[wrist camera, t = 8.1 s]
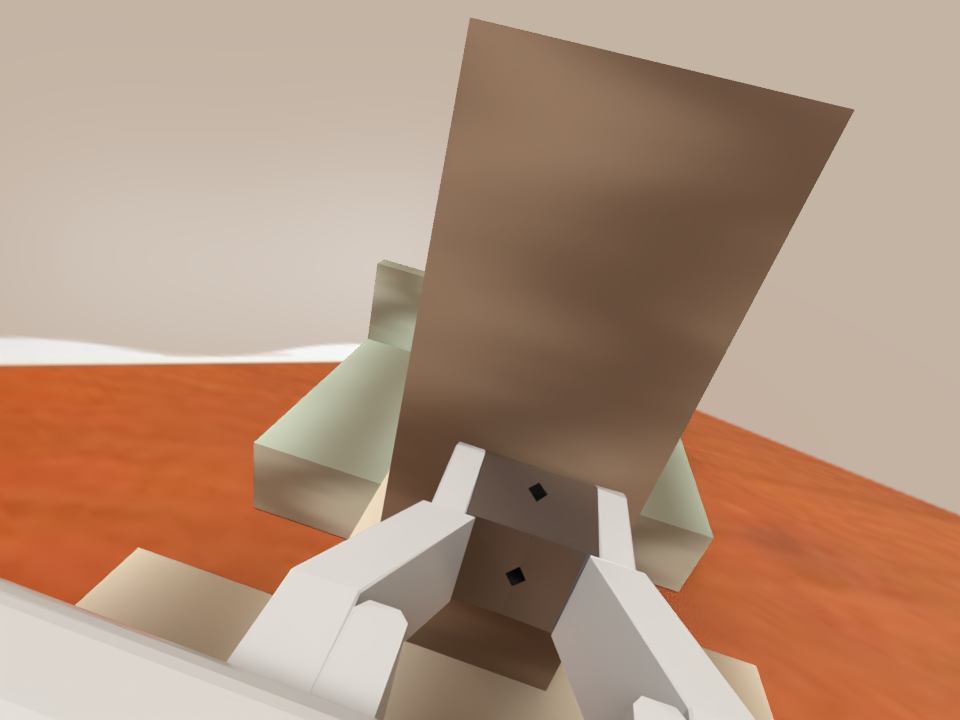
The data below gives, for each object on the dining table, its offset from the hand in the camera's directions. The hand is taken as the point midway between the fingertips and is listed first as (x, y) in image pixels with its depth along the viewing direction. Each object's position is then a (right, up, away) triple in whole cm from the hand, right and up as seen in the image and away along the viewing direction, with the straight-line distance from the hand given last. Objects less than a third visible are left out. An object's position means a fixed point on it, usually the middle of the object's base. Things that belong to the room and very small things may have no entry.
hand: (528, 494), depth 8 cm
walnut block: (-1, -3, +7) cm, 7 cm away
